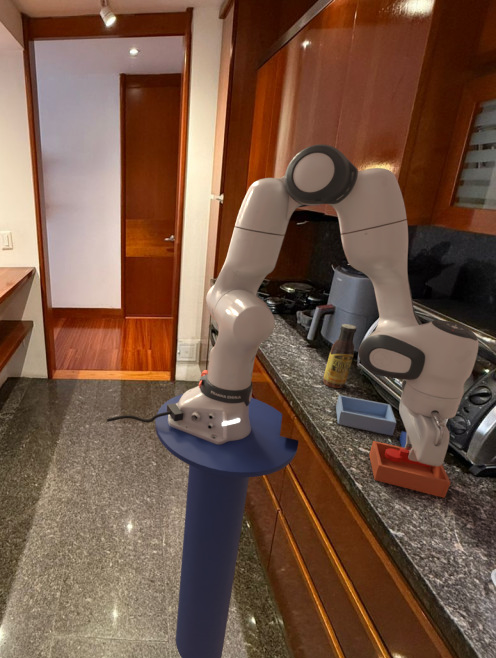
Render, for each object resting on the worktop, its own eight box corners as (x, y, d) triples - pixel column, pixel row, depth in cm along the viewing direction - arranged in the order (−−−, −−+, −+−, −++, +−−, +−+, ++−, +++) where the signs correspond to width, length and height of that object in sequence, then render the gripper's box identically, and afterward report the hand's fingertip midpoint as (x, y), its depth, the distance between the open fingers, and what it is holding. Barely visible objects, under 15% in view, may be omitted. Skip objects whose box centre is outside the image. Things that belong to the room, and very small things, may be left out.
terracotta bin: (374, 480, 84) (378, 465, 82) (369, 454, 91) (373, 440, 90) (444, 498, 79) (450, 482, 77) (432, 469, 87) (438, 455, 85)
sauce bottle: (326, 388, 120) (339, 329, 113) (319, 379, 126) (331, 322, 118) (349, 390, 119) (364, 330, 112) (340, 380, 125) (354, 322, 118)
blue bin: (337, 424, 103) (340, 411, 101) (335, 407, 111) (338, 394, 109) (392, 435, 98) (396, 422, 96) (386, 417, 106) (390, 404, 104)
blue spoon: (394, 438, 97) (396, 430, 96) (409, 441, 96) (412, 433, 95) (400, 457, 90) (403, 449, 90) (417, 461, 89) (420, 452, 88)
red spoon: (427, 461, 84) (430, 452, 83) (430, 470, 81) (434, 461, 80) (383, 451, 87) (386, 442, 86) (385, 459, 84) (388, 450, 83)
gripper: (467, 432, 68) (443, 492, 73) (435, 380, 85) (418, 432, 90) (423, 423, 71) (403, 482, 76) (401, 375, 88) (386, 426, 93)
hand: (411, 455), depth 83 cm, fingers closed on red spoon, 1 cm apart
